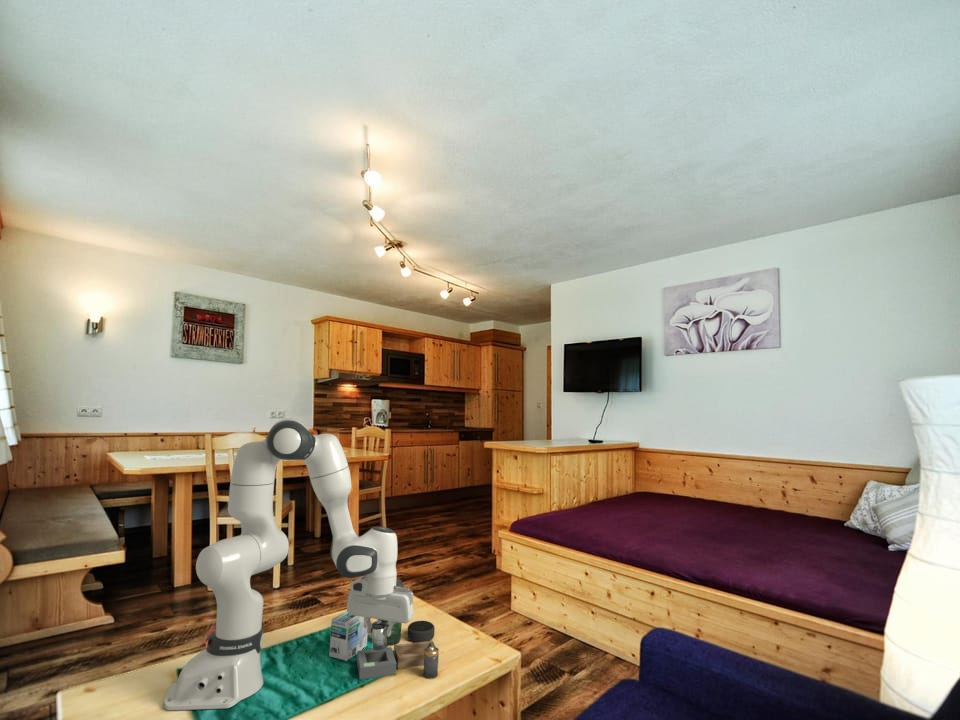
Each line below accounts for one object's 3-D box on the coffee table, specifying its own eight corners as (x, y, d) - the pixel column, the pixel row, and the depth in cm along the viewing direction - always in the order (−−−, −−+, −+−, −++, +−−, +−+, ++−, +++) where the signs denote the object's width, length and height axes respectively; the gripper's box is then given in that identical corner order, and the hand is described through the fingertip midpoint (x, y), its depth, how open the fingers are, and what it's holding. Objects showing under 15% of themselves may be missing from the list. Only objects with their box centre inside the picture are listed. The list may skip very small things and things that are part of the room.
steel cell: (372, 651, 137) (371, 624, 138) (373, 645, 141) (372, 619, 142) (386, 649, 138) (386, 622, 139) (387, 643, 142) (386, 617, 143)
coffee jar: (402, 645, 153) (405, 584, 155) (376, 647, 151) (380, 585, 153) (399, 632, 162) (402, 574, 164) (375, 633, 160) (379, 575, 163)
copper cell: (425, 679, 134) (426, 651, 135) (421, 672, 137) (423, 645, 138) (439, 677, 135) (440, 649, 136) (435, 670, 139) (436, 643, 140)
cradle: (359, 679, 132) (360, 667, 133) (356, 661, 142) (357, 650, 142) (395, 674, 136) (396, 662, 136) (390, 657, 145) (391, 646, 145)
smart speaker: (413, 646, 153) (413, 633, 153) (403, 635, 160) (403, 622, 161) (438, 641, 157) (439, 628, 158) (427, 630, 165) (428, 617, 165)
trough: (397, 668, 139) (398, 657, 139) (393, 655, 146) (394, 645, 147) (438, 663, 142) (438, 653, 143) (432, 651, 150) (432, 640, 150)
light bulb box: (346, 661, 142) (349, 623, 143) (328, 656, 144) (330, 618, 145) (367, 646, 152) (369, 610, 153) (350, 641, 154) (352, 606, 155)
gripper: (417, 585, 141) (416, 635, 140) (356, 577, 147) (354, 624, 146) (408, 592, 136) (406, 644, 134) (345, 583, 141) (342, 633, 140)
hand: (378, 634), depth 140 cm, fingers closed on steel cell, 4 cm apart
